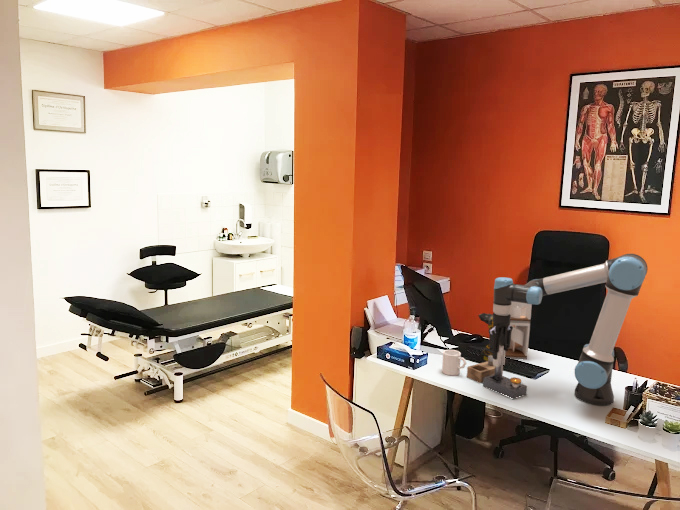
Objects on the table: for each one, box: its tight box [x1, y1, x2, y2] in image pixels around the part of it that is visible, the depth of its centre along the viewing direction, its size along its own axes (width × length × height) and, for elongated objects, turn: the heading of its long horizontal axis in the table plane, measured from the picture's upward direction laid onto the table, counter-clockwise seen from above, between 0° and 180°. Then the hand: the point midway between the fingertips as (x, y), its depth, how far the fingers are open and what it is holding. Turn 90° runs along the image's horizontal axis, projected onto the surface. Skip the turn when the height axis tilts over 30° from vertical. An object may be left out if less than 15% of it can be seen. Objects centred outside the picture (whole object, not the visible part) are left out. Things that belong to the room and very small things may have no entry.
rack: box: [466, 355, 504, 384], centre depth 248 cm, size 8×15×9 cm, turn 124°
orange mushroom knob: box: [509, 377, 522, 388], centre depth 229 cm, size 4×4×6 cm
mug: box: [441, 349, 467, 376], centre depth 251 cm, size 8×12×10 cm
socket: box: [482, 375, 528, 399], centre depth 233 cm, size 16×9×4 cm, turn 34°
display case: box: [505, 301, 533, 361], centre depth 275 cm, size 11×11×35 cm
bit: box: [494, 344, 504, 380], centre depth 235 cm, size 3×3×15 cm
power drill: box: [478, 312, 510, 364], centre depth 265 cm, size 8×19×25 cm, turn 31°
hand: (498, 364), depth 236 cm, fingers closed on bit, 3 cm apart
